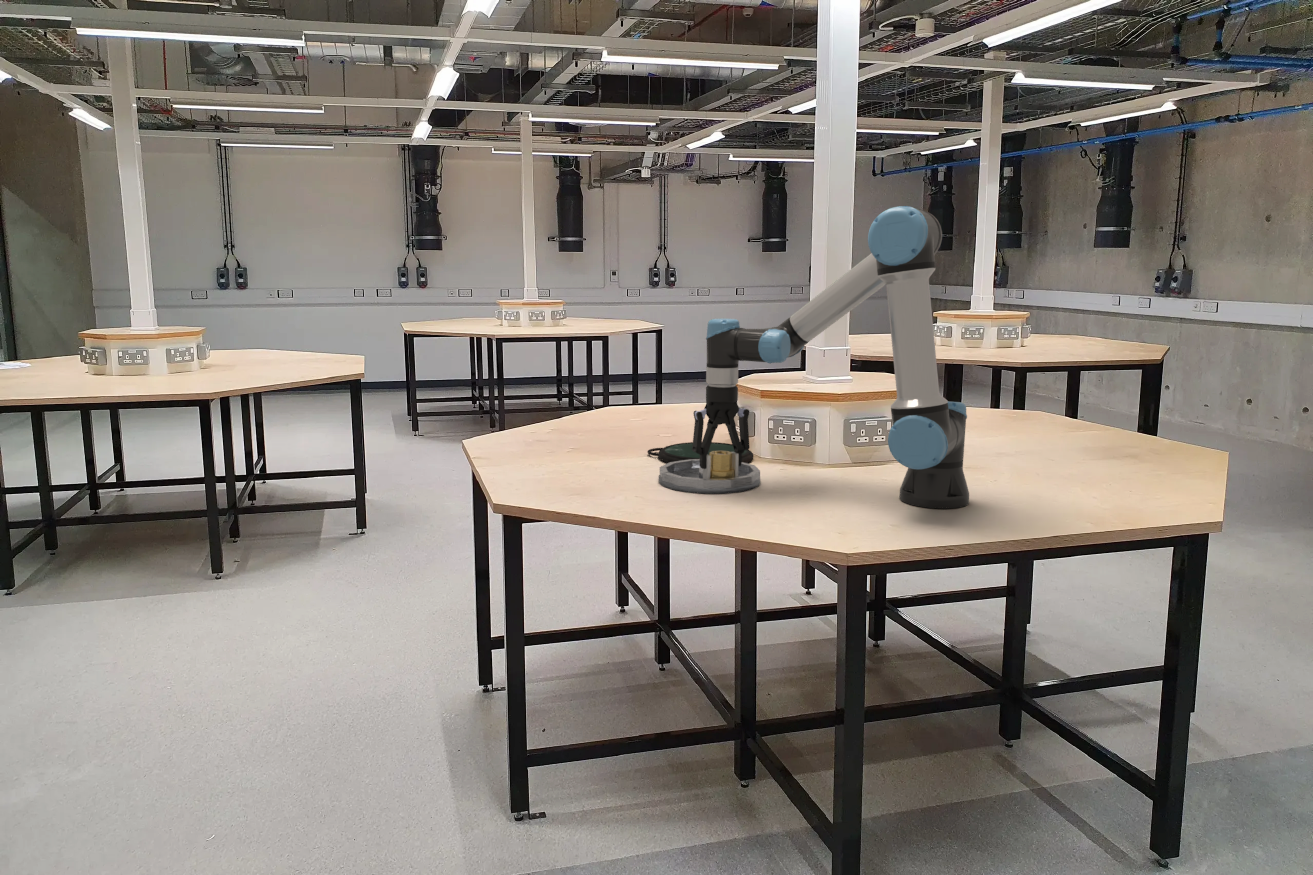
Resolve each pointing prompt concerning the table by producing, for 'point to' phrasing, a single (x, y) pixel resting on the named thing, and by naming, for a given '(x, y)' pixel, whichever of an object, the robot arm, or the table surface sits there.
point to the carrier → (691, 479)
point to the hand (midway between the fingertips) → (720, 480)
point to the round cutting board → (685, 452)
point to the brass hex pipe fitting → (721, 465)
